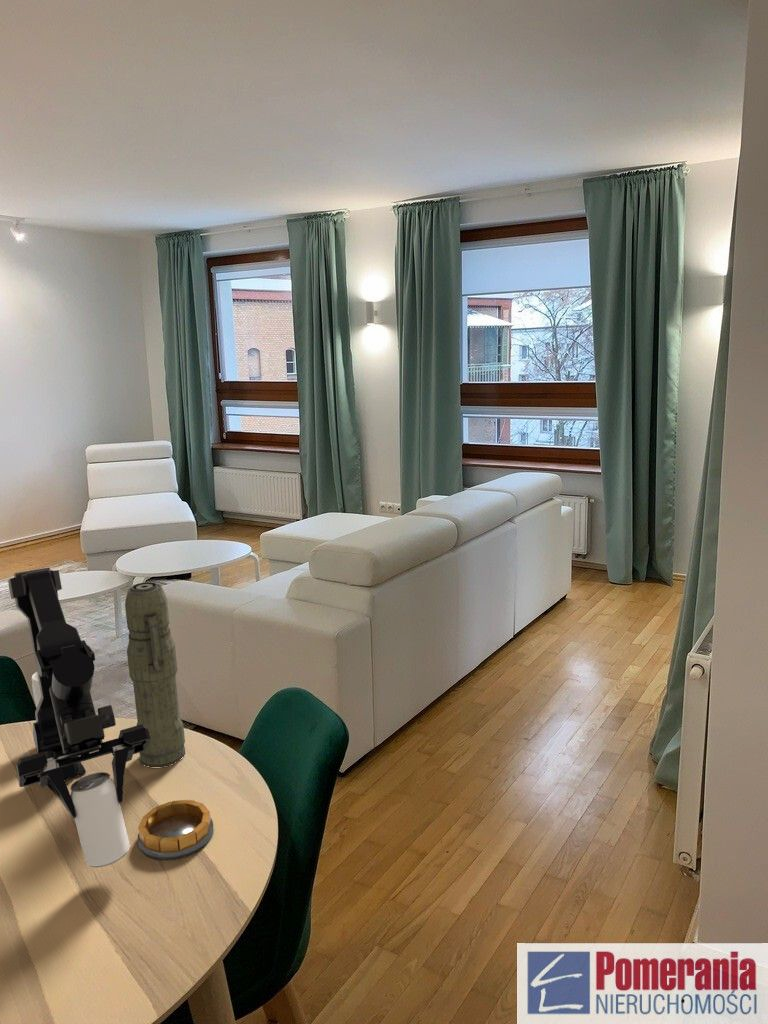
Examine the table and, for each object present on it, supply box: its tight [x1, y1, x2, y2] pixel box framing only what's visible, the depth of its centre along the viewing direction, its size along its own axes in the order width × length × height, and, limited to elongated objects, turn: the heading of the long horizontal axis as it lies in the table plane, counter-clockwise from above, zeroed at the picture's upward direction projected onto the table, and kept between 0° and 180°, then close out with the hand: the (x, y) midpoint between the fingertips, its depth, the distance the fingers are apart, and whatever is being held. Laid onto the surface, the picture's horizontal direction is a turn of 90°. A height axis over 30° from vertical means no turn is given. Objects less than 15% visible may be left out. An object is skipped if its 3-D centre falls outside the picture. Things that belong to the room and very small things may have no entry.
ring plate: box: [137, 799, 214, 861], centre depth 127 cm, size 12×12×3 cm
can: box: [70, 771, 130, 868], centre depth 116 cm, size 6×6×12 cm
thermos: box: [124, 581, 186, 768], centre depth 148 cm, size 9×12×35 cm
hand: (97, 810), depth 114 cm, fingers closed on can, 6 cm apart
